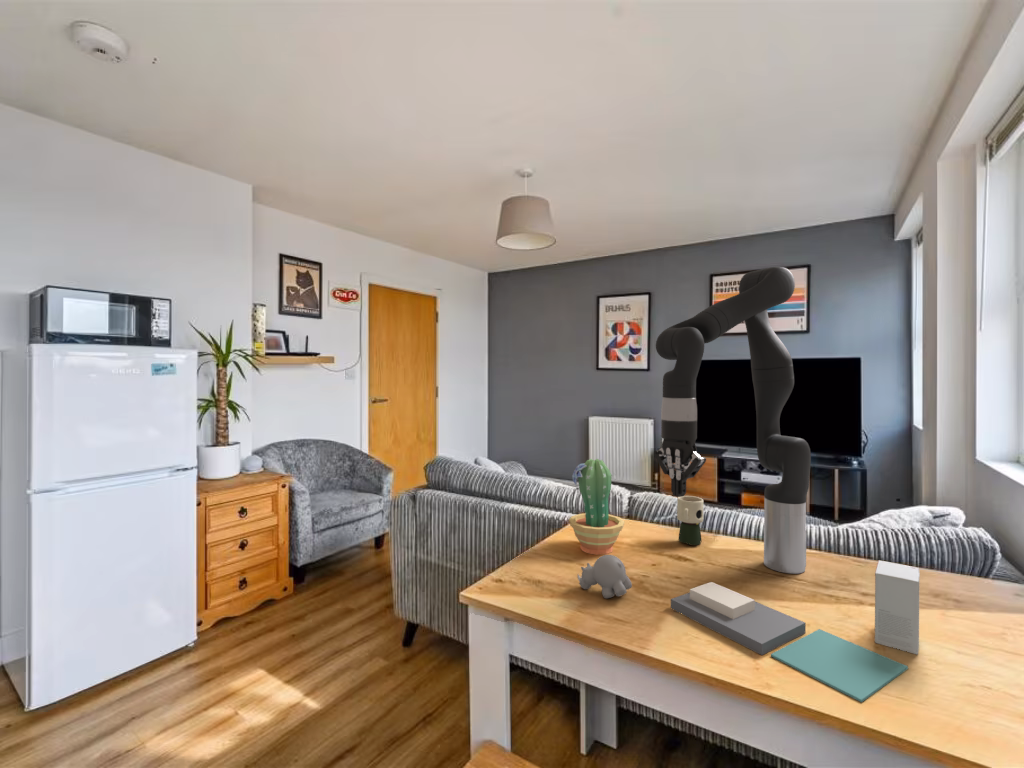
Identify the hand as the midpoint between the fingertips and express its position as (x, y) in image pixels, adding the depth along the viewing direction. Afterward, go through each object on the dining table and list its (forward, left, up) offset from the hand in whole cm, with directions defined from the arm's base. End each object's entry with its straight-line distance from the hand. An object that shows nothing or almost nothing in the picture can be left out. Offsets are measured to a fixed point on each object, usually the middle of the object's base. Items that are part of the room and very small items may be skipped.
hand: (678, 495), depth 109 cm
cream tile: (0, +11, -19) cm, 22 cm away
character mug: (-29, -20, -22) cm, 42 cm away
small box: (-19, +34, -22) cm, 45 cm away
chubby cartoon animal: (+14, -9, -22) cm, 28 cm away
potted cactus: (-3, -31, -22) cm, 38 cm away
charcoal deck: (0, +14, -22) cm, 26 cm away
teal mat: (-2, +32, -22) cm, 39 cm away
